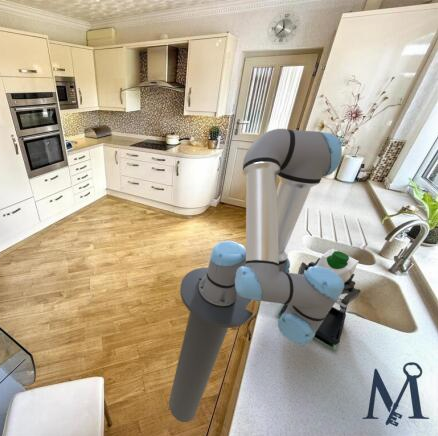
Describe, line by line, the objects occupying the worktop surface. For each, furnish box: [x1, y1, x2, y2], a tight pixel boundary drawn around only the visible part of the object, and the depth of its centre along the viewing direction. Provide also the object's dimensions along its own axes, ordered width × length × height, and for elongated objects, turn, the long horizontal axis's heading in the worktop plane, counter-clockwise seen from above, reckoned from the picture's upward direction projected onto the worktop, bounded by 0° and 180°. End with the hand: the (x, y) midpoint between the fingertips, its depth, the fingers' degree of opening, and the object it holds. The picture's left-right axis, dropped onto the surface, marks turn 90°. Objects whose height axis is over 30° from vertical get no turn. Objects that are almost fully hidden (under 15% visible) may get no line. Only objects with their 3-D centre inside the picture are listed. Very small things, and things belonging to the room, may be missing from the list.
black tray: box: [276, 304, 348, 352], centre depth 84 cm, size 18×16×11 cm
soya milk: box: [316, 248, 359, 285], centre depth 77 cm, size 9×9×20 cm
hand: (334, 268), depth 79 cm, fingers closed on soya milk, 9 cm apart
